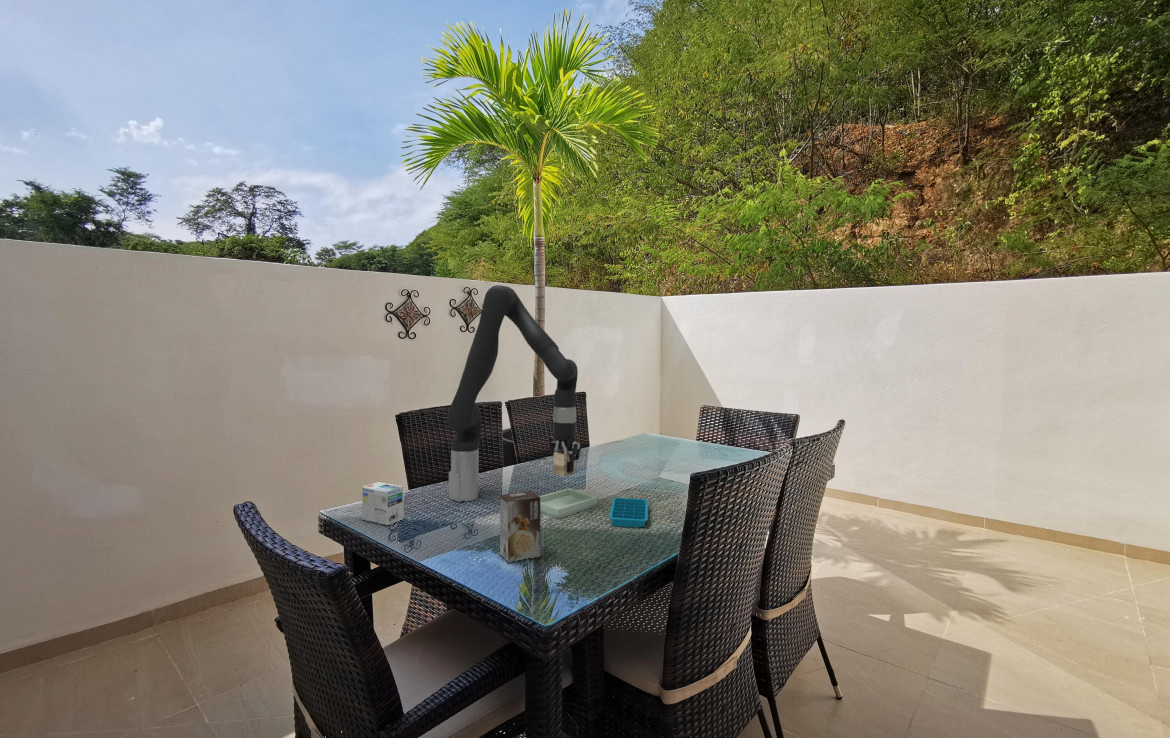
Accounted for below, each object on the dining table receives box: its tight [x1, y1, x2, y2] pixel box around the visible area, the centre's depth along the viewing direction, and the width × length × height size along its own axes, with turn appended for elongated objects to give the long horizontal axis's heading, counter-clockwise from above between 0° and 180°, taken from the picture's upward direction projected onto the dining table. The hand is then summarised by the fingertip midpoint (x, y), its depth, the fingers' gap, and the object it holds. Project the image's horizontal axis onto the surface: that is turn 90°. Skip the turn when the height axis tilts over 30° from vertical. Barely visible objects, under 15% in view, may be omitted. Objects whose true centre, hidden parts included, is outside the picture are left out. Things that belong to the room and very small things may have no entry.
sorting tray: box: [538, 487, 599, 520], centre depth 176 cm, size 18×14×3 cm
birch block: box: [553, 451, 576, 477], centre depth 175 cm, size 5×5×7 cm
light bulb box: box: [361, 481, 405, 526], centre depth 160 cm, size 11×7×11 cm, turn 65°
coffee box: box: [499, 490, 542, 562], centre depth 137 cm, size 9×6×16 cm
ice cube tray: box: [608, 497, 649, 528], centre depth 168 cm, size 12×20×3 cm, turn 173°
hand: (564, 470), depth 175 cm, fingers closed on birch block, 5 cm apart
